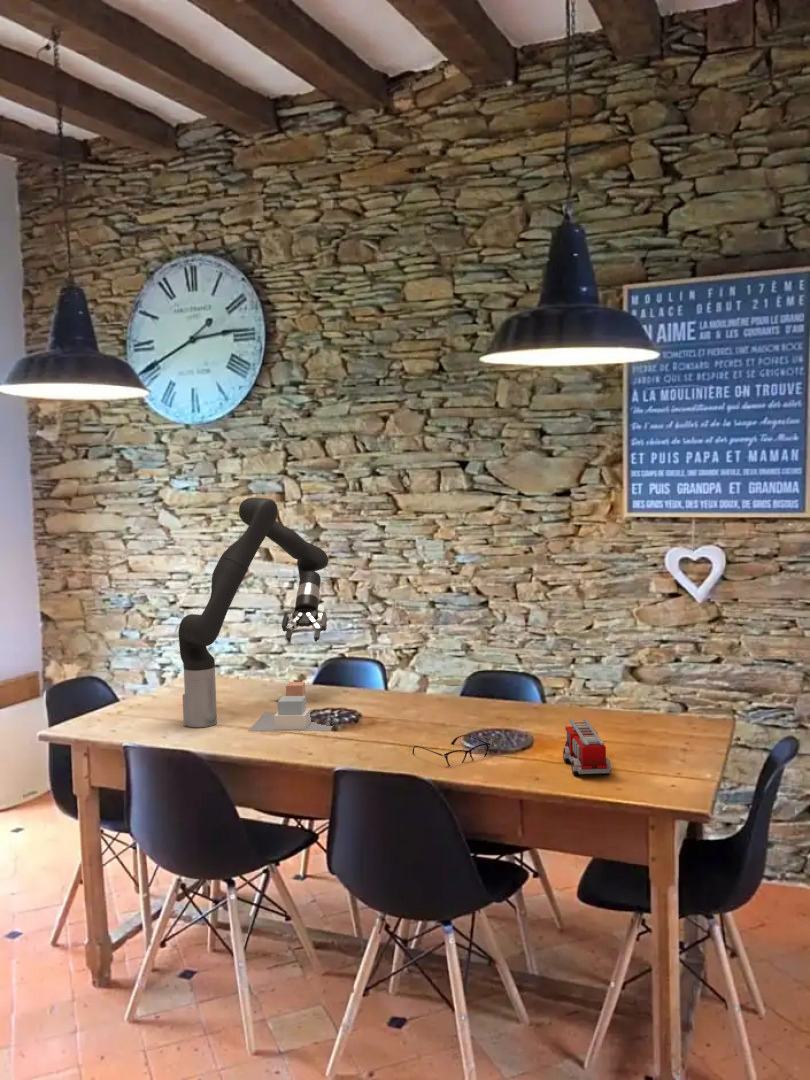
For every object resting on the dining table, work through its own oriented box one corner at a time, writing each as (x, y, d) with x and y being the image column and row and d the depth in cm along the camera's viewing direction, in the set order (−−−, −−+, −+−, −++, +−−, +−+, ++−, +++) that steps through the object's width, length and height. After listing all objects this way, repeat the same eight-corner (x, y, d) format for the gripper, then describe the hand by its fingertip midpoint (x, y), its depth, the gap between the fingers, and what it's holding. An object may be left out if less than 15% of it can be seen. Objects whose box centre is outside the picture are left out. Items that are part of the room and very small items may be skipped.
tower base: (274, 729, 270) (273, 702, 270) (280, 721, 279) (280, 695, 279) (305, 729, 270) (304, 702, 269) (310, 721, 278) (309, 695, 278)
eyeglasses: (444, 769, 233) (443, 754, 233) (406, 755, 246) (406, 740, 245) (493, 757, 242) (493, 742, 242) (455, 744, 255) (455, 729, 255)
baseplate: (247, 733, 269) (247, 731, 269) (264, 714, 291) (264, 712, 291) (330, 733, 268) (330, 730, 267) (341, 714, 289) (340, 711, 289)
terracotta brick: (286, 718, 283) (285, 685, 282) (290, 714, 288) (289, 682, 287) (303, 718, 283) (302, 685, 282) (306, 713, 288) (305, 682, 287)
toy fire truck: (595, 756, 240) (594, 718, 239) (613, 779, 221) (613, 738, 221) (560, 757, 240) (560, 719, 239) (576, 780, 221) (575, 739, 220)
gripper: (284, 593, 305) (278, 634, 294) (327, 592, 304) (322, 633, 293) (288, 607, 310) (282, 647, 300) (330, 606, 309) (326, 646, 299)
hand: (302, 640), depth 296 cm, fingers open, 8 cm apart
